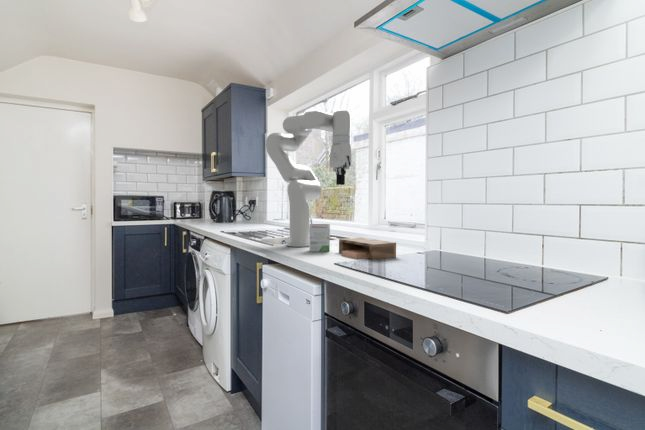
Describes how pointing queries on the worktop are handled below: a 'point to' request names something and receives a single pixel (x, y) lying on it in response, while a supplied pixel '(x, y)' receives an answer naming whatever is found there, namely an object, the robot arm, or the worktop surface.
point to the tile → (356, 253)
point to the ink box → (319, 237)
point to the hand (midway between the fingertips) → (340, 184)
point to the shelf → (376, 247)
